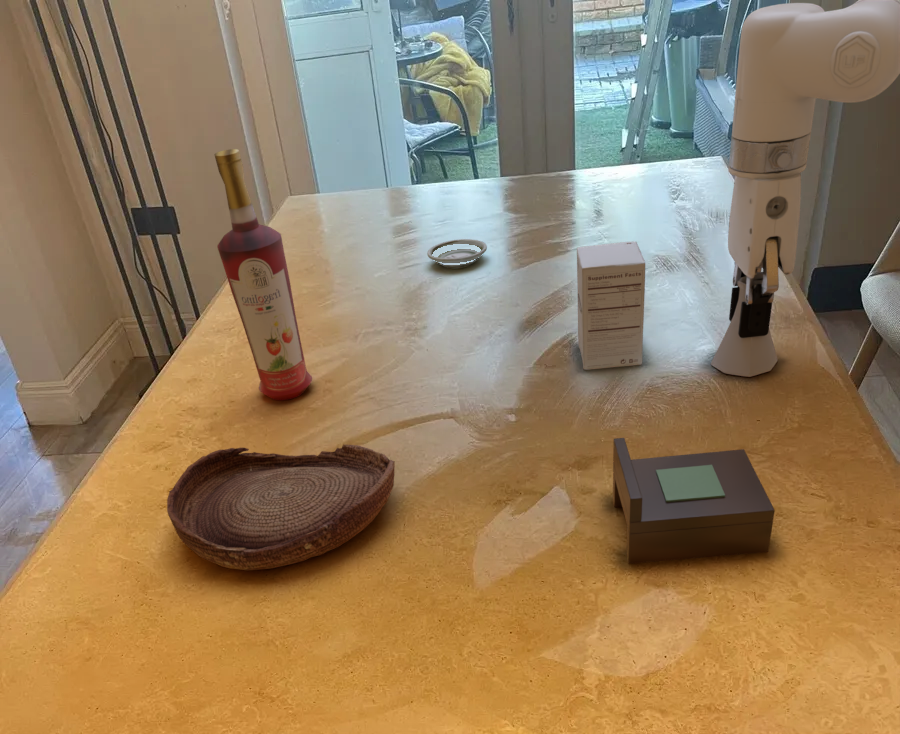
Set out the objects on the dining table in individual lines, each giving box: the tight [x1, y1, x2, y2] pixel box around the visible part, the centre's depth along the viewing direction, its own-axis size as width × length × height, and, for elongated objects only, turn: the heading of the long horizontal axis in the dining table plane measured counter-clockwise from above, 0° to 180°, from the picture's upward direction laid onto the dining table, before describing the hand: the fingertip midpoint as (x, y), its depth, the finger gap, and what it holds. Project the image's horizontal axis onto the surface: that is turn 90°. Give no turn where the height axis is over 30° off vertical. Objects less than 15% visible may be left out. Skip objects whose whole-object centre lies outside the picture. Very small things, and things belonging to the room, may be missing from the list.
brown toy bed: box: [612, 437, 776, 565], centre depth 75 cm, size 12×10×7 cm
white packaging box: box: [576, 240, 646, 371], centre depth 102 cm, size 7×7×13 cm
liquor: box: [213, 148, 313, 401], centre depth 100 cm, size 7×7×28 cm
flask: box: [710, 276, 779, 378], centre depth 97 cm, size 7×7×10 cm
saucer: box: [426, 238, 488, 270], centre depth 137 cm, size 10×10×2 cm
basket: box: [166, 443, 396, 571], centre depth 84 cm, size 22×20×5 cm
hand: (748, 326), depth 97 cm, fingers closed on flask, 3 cm apart
